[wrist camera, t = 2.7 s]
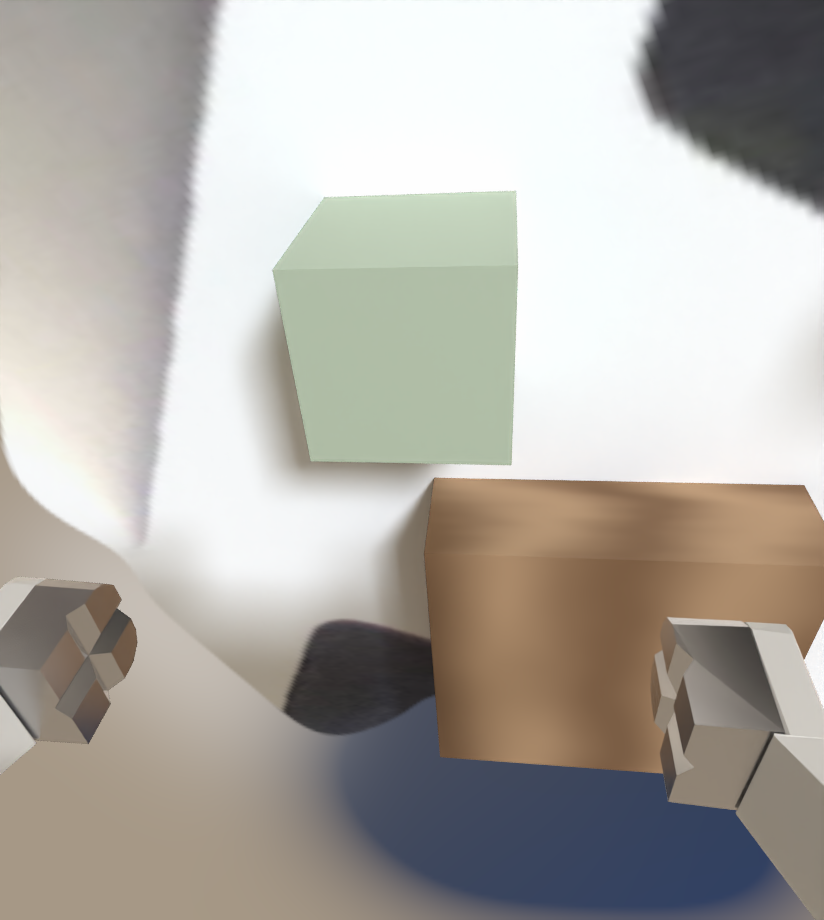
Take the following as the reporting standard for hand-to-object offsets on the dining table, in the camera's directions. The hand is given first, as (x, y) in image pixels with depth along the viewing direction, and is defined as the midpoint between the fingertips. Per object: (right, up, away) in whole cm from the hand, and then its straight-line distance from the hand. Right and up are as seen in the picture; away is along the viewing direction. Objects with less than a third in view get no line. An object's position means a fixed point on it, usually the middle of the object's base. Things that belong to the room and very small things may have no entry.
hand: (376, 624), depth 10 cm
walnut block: (+8, -3, +16) cm, 18 cm away
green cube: (+1, +7, +9) cm, 12 cm away
